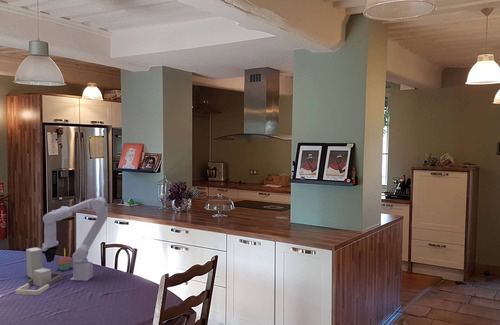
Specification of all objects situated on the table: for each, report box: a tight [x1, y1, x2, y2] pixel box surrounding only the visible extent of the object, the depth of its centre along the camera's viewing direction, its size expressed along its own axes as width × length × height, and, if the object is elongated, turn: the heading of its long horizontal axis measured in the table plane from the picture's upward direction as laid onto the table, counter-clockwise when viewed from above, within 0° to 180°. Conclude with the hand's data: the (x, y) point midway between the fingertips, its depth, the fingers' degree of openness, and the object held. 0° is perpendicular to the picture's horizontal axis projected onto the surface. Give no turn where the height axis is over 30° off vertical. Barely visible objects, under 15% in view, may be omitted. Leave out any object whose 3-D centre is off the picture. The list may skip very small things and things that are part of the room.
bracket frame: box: [14, 282, 50, 296], centre depth 214 cm, size 11×10×2 cm
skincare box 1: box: [25, 246, 44, 279], centre depth 236 cm, size 8×6×15 cm
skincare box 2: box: [32, 267, 52, 288], centre depth 224 cm, size 6×6×7 cm
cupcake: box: [56, 248, 73, 271], centre depth 250 cm, size 9×8×12 cm
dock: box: [26, 272, 64, 288], centre depth 228 cm, size 11×15×2 cm
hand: (50, 261), depth 232 cm, fingers closed
